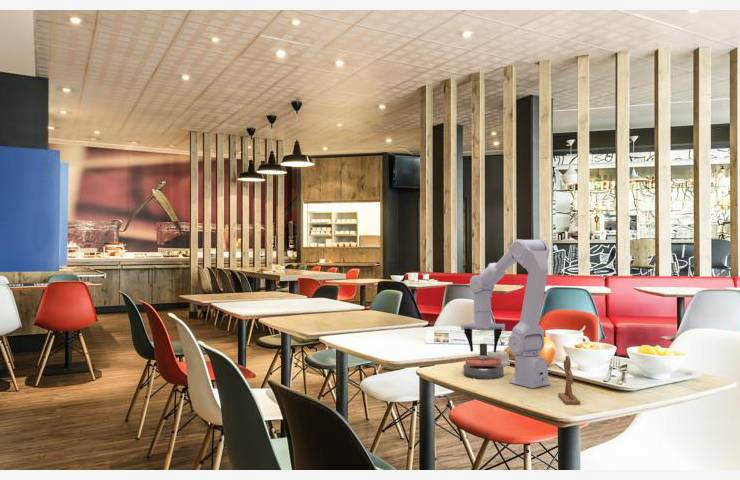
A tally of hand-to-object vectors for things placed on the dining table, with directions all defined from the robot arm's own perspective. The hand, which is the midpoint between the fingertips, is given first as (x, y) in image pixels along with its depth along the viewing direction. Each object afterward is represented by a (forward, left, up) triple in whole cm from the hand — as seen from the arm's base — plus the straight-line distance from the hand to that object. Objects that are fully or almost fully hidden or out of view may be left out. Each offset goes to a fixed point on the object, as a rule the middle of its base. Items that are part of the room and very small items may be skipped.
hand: (483, 351), depth 188 cm
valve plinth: (-3, +3, -7) cm, 8 cm away
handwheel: (-3, +3, -4) cm, 6 cm away
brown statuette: (-40, +7, -7) cm, 42 cm away
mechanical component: (+8, -15, -7) cm, 18 cm away
